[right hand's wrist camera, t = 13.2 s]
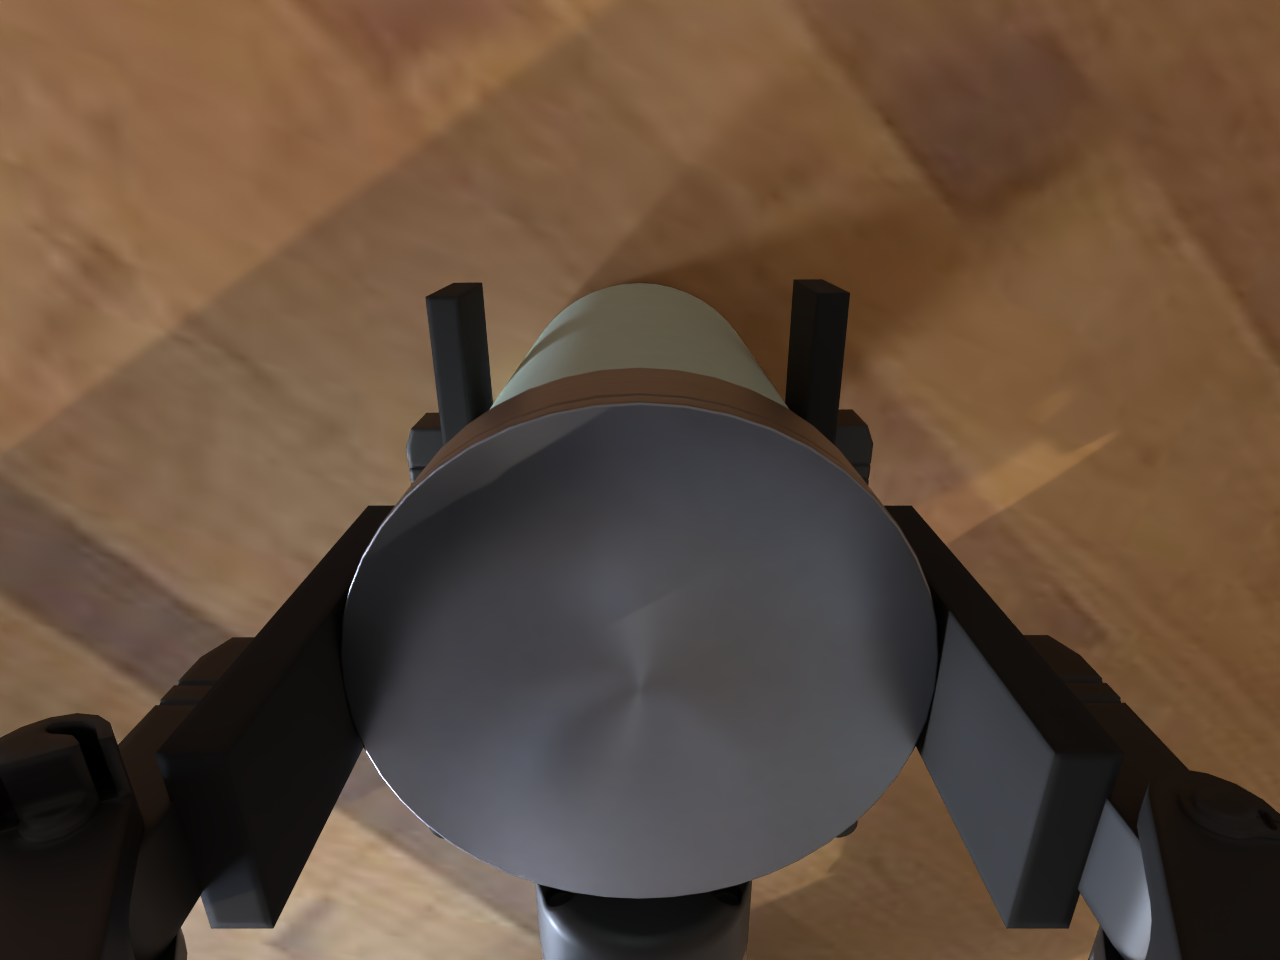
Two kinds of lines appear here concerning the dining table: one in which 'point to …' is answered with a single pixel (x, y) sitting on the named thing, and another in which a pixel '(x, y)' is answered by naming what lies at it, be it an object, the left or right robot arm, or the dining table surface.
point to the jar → (639, 340)
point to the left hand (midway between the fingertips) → (637, 288)
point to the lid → (639, 638)
